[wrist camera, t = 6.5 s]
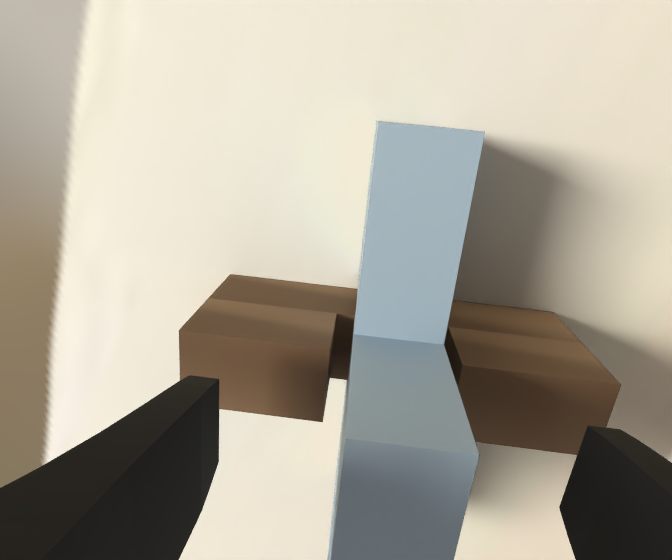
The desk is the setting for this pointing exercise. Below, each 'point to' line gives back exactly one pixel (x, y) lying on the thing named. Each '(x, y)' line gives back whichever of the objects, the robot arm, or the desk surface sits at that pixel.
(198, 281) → the desk surface
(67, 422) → the desk surface
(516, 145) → the desk surface
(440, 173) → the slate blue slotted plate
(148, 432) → the robot arm
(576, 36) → the desk surface
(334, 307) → the brown notched wooden bar
